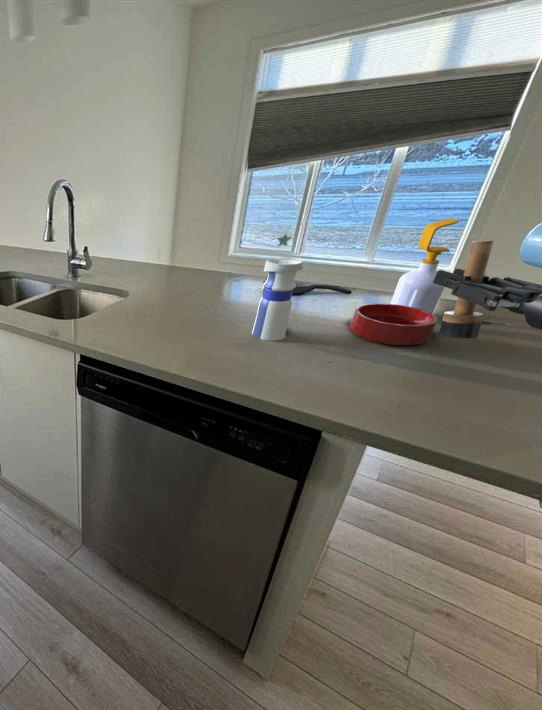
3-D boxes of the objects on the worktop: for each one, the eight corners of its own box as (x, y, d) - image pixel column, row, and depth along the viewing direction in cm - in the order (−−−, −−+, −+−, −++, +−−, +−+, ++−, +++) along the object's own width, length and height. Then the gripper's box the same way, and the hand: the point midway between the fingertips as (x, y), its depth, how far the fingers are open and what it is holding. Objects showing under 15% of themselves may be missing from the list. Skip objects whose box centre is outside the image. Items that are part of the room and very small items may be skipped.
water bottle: (242, 331, 109) (260, 235, 97) (270, 326, 111) (291, 231, 98) (263, 343, 102) (286, 241, 90) (293, 337, 103) (319, 236, 91)
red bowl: (424, 328, 102) (433, 307, 99) (431, 352, 91) (441, 330, 89) (349, 319, 110) (355, 300, 107) (347, 341, 100) (355, 320, 97)
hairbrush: (357, 288, 122) (265, 282, 130) (353, 300, 124) (262, 293, 132) (350, 280, 129) (263, 275, 137) (346, 292, 131) (260, 286, 139)
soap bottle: (437, 322, 104) (483, 222, 92) (395, 321, 107) (434, 223, 94) (420, 310, 112) (459, 215, 99) (380, 309, 114) (414, 217, 102)
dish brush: (472, 333, 84) (499, 239, 78) (481, 339, 80) (509, 240, 74) (435, 331, 87) (458, 241, 81) (442, 337, 83) (466, 242, 77)
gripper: (512, 339, 67) (400, 295, 87) (612, 332, 67) (476, 290, 87) (537, 295, 63) (414, 260, 84) (643, 287, 63) (493, 254, 83)
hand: (445, 275), depth 85 cm, fingers closed on dish brush, 3 cm apart
